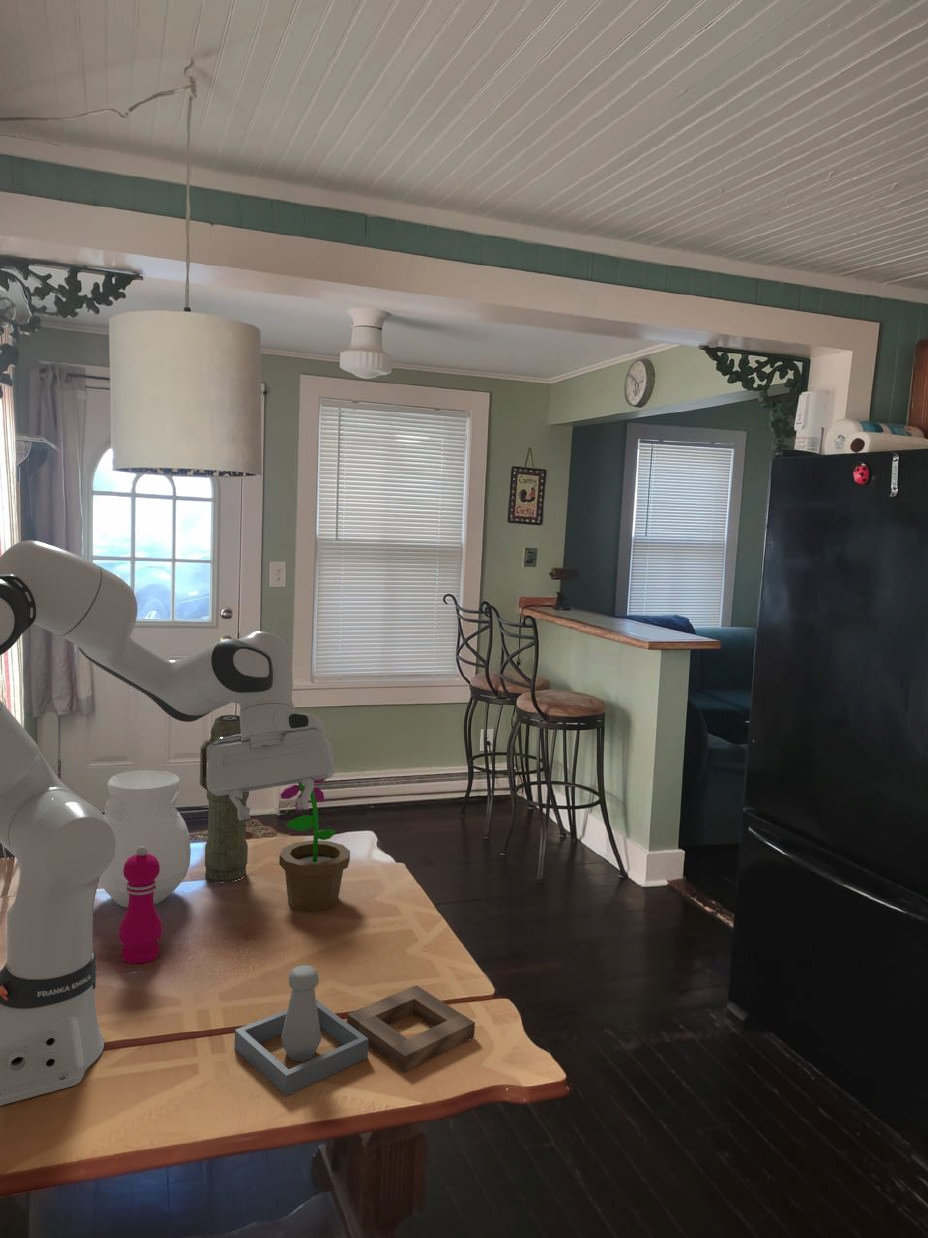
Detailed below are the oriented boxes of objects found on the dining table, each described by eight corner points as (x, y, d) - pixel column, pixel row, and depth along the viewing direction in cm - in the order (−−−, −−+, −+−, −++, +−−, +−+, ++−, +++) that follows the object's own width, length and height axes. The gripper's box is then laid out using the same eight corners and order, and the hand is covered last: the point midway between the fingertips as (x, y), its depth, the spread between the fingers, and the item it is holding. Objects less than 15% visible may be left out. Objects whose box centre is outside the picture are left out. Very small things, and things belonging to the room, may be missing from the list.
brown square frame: (404, 1072, 129) (404, 1056, 128) (346, 1029, 139) (347, 1014, 138) (474, 1037, 138) (474, 1022, 138) (415, 999, 148) (416, 985, 148)
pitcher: (137, 928, 168) (138, 799, 165) (72, 903, 177) (72, 780, 174) (209, 894, 184) (212, 776, 182) (147, 873, 193) (148, 760, 190)
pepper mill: (112, 952, 158) (113, 843, 156) (152, 942, 163) (154, 836, 161) (127, 969, 153) (128, 857, 151) (168, 958, 157) (170, 848, 155)
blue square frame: (285, 1096, 122) (286, 1075, 122) (234, 1049, 132) (234, 1030, 132) (367, 1058, 132) (368, 1039, 131) (314, 1016, 142) (314, 998, 141)
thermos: (191, 874, 194) (194, 715, 190) (242, 863, 201) (246, 710, 198) (207, 888, 187) (211, 724, 183) (259, 876, 195) (264, 719, 191)
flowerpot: (320, 881, 194) (325, 746, 191) (362, 903, 184) (368, 761, 181) (264, 898, 184) (268, 756, 181) (305, 922, 174) (310, 772, 171)
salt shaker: (312, 1068, 128) (315, 982, 127) (274, 1062, 129) (277, 976, 128) (326, 1045, 134) (329, 963, 133) (290, 1039, 135) (293, 957, 134)
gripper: (198, 735, 143) (201, 821, 137) (324, 714, 142) (331, 800, 136) (213, 744, 148) (216, 828, 143) (333, 724, 148) (341, 807, 142)
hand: (273, 814), depth 140 cm, fingers open, 8 cm apart
